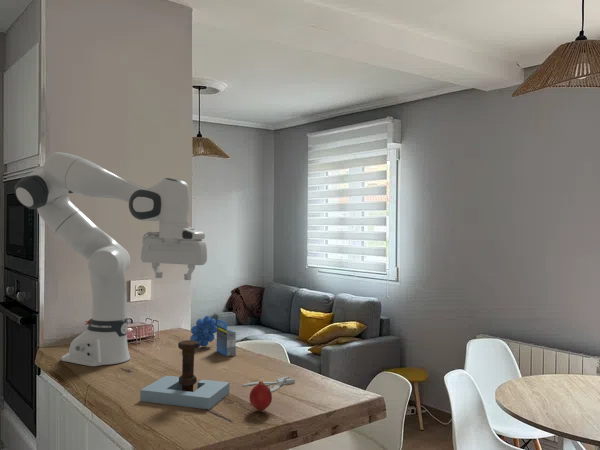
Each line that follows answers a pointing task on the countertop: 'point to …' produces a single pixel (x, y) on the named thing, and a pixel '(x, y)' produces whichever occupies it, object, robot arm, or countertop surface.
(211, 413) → the countertop surface
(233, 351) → the label tape box
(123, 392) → the countertop surface
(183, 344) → the bolt
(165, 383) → the pocket frame
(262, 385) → the onion
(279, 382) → the pliers
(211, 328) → the grapes
